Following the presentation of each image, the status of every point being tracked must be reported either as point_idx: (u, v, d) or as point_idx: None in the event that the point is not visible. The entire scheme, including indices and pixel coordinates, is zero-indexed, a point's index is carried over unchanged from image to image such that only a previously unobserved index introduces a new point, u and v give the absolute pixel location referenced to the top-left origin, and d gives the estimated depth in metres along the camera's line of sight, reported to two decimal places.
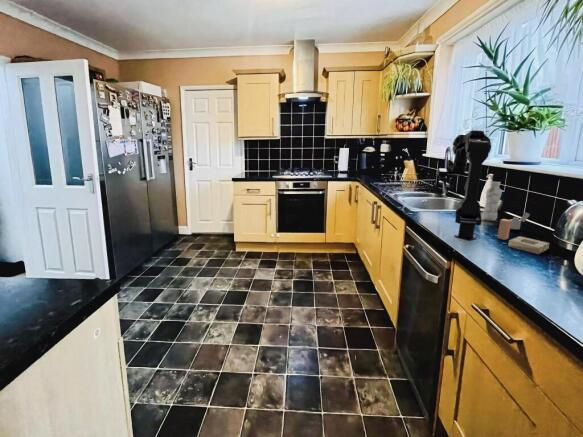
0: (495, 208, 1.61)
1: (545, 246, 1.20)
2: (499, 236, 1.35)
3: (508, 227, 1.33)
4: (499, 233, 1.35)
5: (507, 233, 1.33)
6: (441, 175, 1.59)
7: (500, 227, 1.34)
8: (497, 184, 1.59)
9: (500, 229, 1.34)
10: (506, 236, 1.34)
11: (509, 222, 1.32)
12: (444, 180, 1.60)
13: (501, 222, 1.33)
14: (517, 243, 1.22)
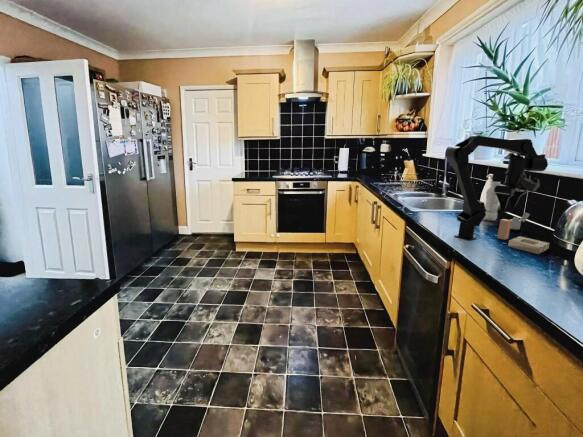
0: (495, 208, 1.61)
1: (545, 246, 1.20)
2: (499, 236, 1.35)
3: (508, 227, 1.33)
4: (499, 233, 1.35)
5: (507, 233, 1.33)
6: None
7: (500, 227, 1.34)
8: (497, 184, 1.59)
9: (500, 229, 1.34)
10: (506, 236, 1.34)
11: (509, 222, 1.32)
12: None
13: (501, 222, 1.33)
14: (517, 243, 1.22)
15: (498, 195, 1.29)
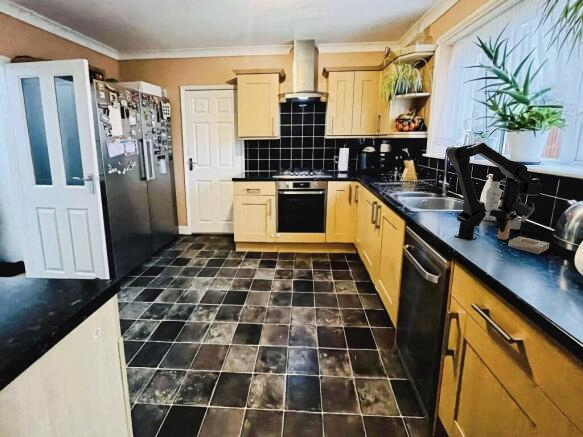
0: (495, 208, 1.61)
1: (545, 246, 1.20)
2: (499, 236, 1.35)
3: (508, 227, 1.33)
4: (499, 233, 1.35)
5: (507, 233, 1.33)
6: None
7: None
8: (497, 184, 1.59)
9: None
10: (506, 236, 1.34)
11: (509, 222, 1.32)
12: None
13: None
14: (517, 243, 1.22)
15: (497, 218, 1.33)
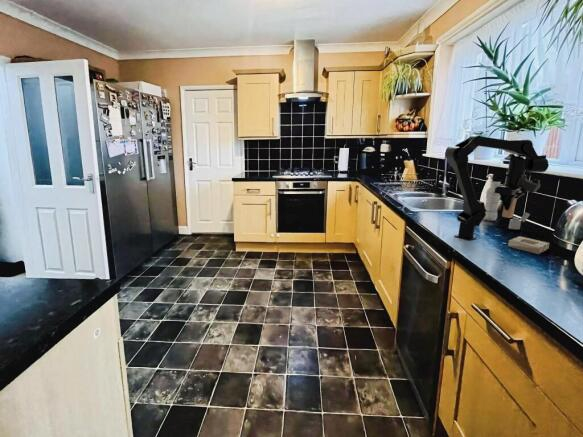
0: (495, 208, 1.61)
1: (545, 246, 1.20)
2: (504, 214, 1.32)
3: (513, 205, 1.30)
4: (504, 211, 1.32)
5: (512, 211, 1.31)
6: None
7: None
8: (497, 184, 1.59)
9: None
10: (511, 214, 1.31)
11: (514, 200, 1.29)
12: None
13: None
14: (517, 243, 1.22)
15: (502, 195, 1.30)
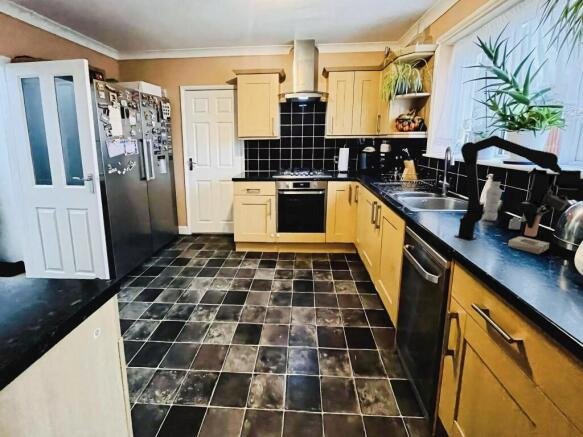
0: (495, 208, 1.61)
1: (545, 246, 1.20)
2: (527, 233, 1.22)
3: (537, 223, 1.20)
4: (527, 229, 1.22)
5: (536, 229, 1.21)
6: None
7: None
8: (497, 184, 1.59)
9: None
10: (535, 233, 1.21)
11: (538, 217, 1.19)
12: None
13: None
14: (517, 243, 1.22)
15: (525, 212, 1.20)
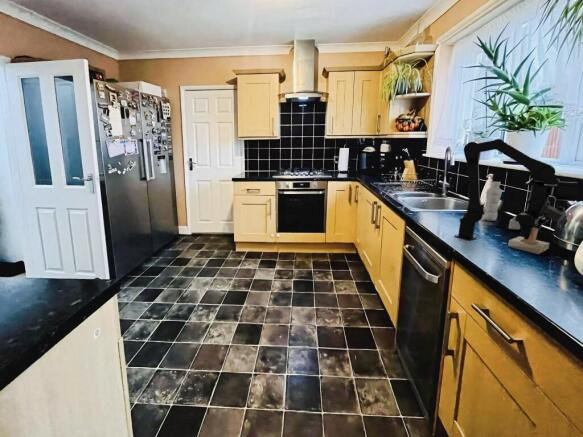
0: (495, 208, 1.61)
1: (545, 246, 1.20)
2: None
3: (534, 236, 1.21)
4: None
5: (533, 242, 1.22)
6: None
7: None
8: (497, 184, 1.59)
9: None
10: None
11: (536, 230, 1.21)
12: None
13: None
14: (517, 243, 1.22)
15: (521, 224, 1.20)
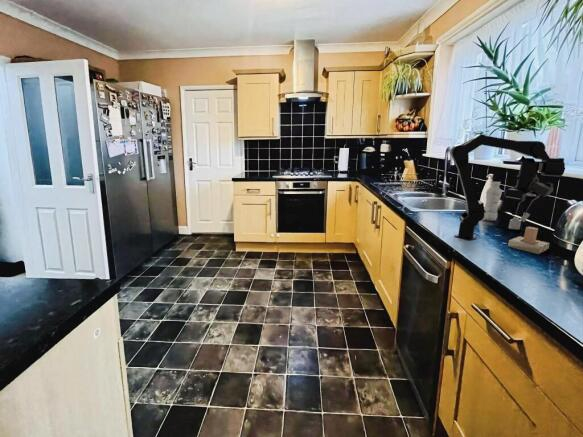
0: (495, 208, 1.61)
1: (545, 246, 1.20)
2: None
3: (534, 236, 1.21)
4: None
5: (533, 242, 1.22)
6: None
7: (525, 236, 1.23)
8: (497, 184, 1.59)
9: (525, 238, 1.23)
10: None
11: (535, 230, 1.21)
12: None
13: (526, 230, 1.22)
14: (517, 243, 1.22)
15: (508, 199, 1.23)
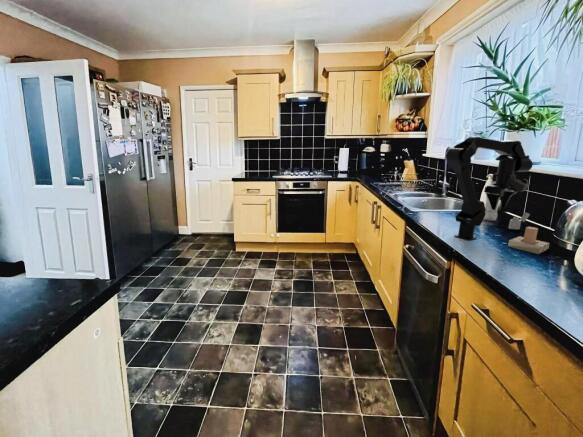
0: None
1: (545, 246, 1.20)
2: None
3: (534, 236, 1.21)
4: None
5: (533, 242, 1.22)
6: None
7: (525, 236, 1.23)
8: None
9: (525, 238, 1.23)
10: None
11: (535, 230, 1.21)
12: None
13: (526, 230, 1.22)
14: (517, 243, 1.22)
15: (488, 195, 1.32)
